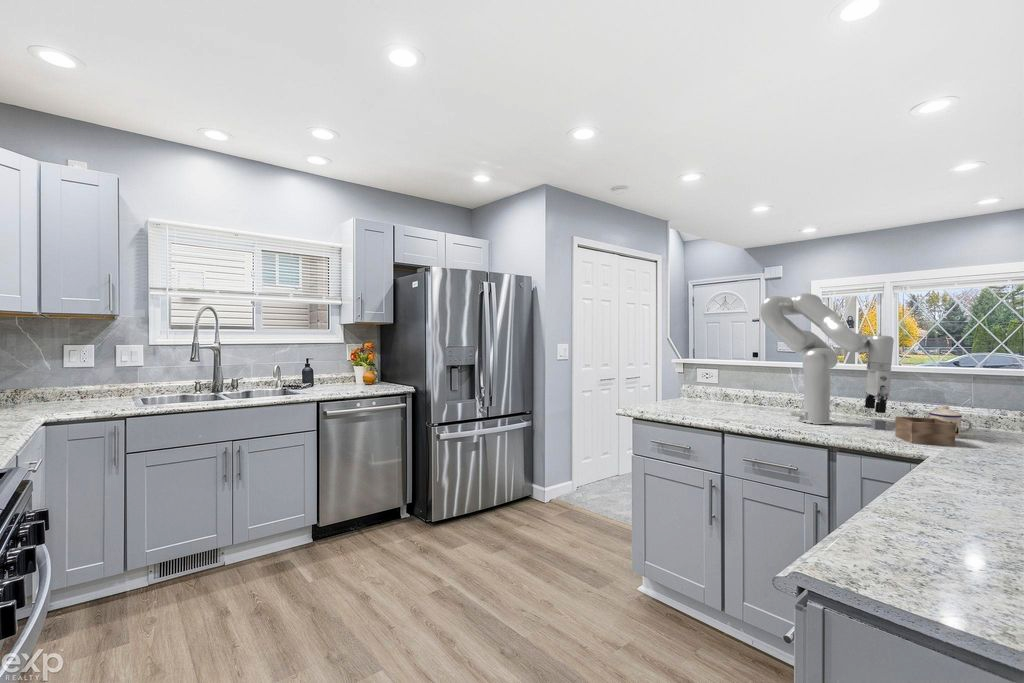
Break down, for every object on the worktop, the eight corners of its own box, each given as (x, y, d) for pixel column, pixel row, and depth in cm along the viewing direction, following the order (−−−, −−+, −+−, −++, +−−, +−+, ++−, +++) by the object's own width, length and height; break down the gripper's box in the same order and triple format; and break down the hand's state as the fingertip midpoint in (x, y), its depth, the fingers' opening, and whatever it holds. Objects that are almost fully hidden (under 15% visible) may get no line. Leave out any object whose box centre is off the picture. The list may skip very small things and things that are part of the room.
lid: (864, 434, 183) (865, 421, 183) (851, 428, 196) (851, 415, 196) (907, 437, 179) (907, 424, 179) (890, 430, 192) (891, 418, 192)
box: (911, 445, 163) (912, 422, 163) (895, 438, 174) (895, 416, 174) (954, 448, 159) (955, 424, 159) (935, 440, 171) (935, 418, 171)
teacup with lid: (930, 438, 175) (931, 406, 175) (925, 433, 183) (926, 403, 183) (975, 442, 169) (976, 409, 169) (968, 437, 177) (969, 406, 177)
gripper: (900, 370, 178) (896, 415, 179) (880, 365, 195) (876, 407, 196) (877, 368, 180) (872, 413, 181) (858, 364, 197) (855, 405, 198)
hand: (874, 410), depth 189 cm, fingers open, 9 cm apart
